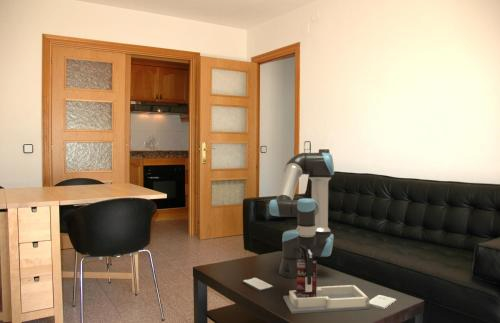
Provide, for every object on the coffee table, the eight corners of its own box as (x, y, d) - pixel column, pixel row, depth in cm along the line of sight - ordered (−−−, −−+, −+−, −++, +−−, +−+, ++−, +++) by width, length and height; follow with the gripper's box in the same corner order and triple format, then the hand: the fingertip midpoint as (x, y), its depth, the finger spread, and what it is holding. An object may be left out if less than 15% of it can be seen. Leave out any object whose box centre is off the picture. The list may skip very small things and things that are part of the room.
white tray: (283, 298, 178) (283, 288, 178) (354, 294, 182) (354, 284, 182) (291, 313, 162) (291, 302, 161) (369, 309, 165) (369, 298, 165)
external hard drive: (365, 306, 170) (378, 297, 179) (384, 311, 165) (396, 302, 174) (365, 302, 170) (378, 294, 179) (383, 307, 165) (396, 298, 174)
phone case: (274, 289, 191) (255, 280, 204) (274, 286, 191) (255, 277, 204) (259, 293, 186) (241, 283, 199) (259, 290, 186) (241, 280, 199)
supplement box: (296, 299, 169) (295, 262, 169) (296, 295, 174) (296, 259, 174) (316, 300, 168) (316, 262, 167) (316, 296, 173) (316, 259, 172)
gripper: (292, 230, 179) (293, 281, 180) (303, 240, 160) (303, 297, 161) (309, 230, 180) (309, 281, 181) (321, 239, 161) (321, 296, 162)
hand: (306, 288), depth 171 cm, fingers closed on supplement box, 6 cm apart
